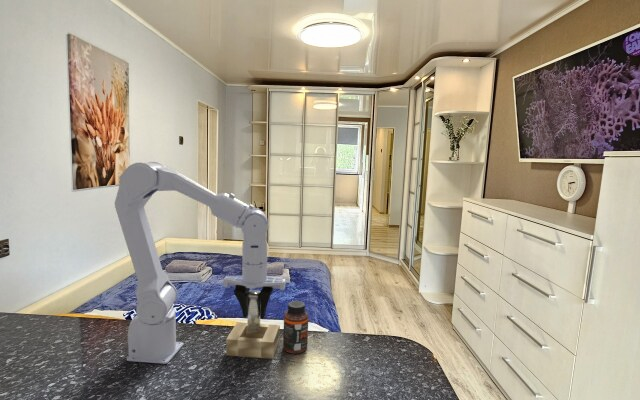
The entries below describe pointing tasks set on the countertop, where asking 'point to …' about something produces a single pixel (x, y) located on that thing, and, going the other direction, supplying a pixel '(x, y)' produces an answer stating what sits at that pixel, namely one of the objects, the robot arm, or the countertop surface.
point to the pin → (253, 311)
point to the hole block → (253, 341)
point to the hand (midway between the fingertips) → (254, 315)
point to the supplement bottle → (295, 328)
